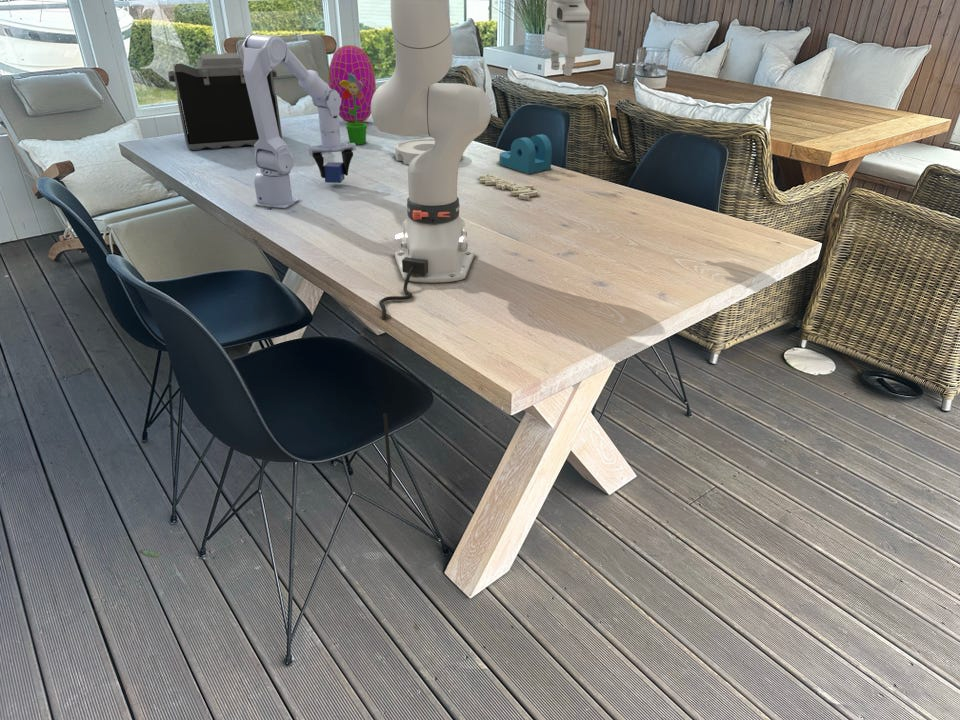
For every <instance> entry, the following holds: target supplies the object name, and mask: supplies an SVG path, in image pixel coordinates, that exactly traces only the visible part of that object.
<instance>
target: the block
mask: <svg viewBox="0 0 960 720" xmlns="http://www.w3.org/2000/svg"><path fill="white" fill-rule="evenodd" d="M324 171H325V178H324V183H329V184H330V183H331V184H341V183H342V182H343V181H344V180H345V176H346V175H345V174H344V165H343V161H342V162H340V161H339V162H338V161H337V162H336V161H328V162H326V163H324Z"/></svg>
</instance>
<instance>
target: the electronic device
mask: <svg viewBox="0 0 960 720" xmlns="http://www.w3.org/2000/svg"><path fill="white" fill-rule="evenodd" d="M195 64H196V68H195V67H192V66H190V65H187V64H185V63H174V64H173V65H172V68H173V69H172V70H170V71H168V75H167V78H168V81H169V82H170V83H172V82H173V83H174V84H175V89H176V97H177V101H176V102H177V107H178V110H179V115H180V121H181V126H182V130H183V136H184V141H185V144H186V147H187V149H188V150H191V151H200V150H203V149H204V148H210V149H212V150H217V149H221V148H223V147H229V148H240V147H243V146H245V145H246V146H247V145H250V146H251V147H254V145H255V143H256V142H257V141H258V140H259V136H258V132H257V128H256V123H255V119H254V115H253V111H252V107H251V102H250V98H249V94H248V90H247V86H246V81H245V77H244V73H243V66H244V58H241V57H240V55H239V54H238V52H225V53H220V54H219V53H217V54H214V53H212V52H211V53H201V54H200V58H199V59H198V60H196V61H195ZM277 77H278V75H277V70H275V68H274V69H273V70H272V71H271V72H269V74H268V76H267V81H268V86H269V90H270V95H271V99H272V104H273V108H274V113H275V117H276V122H277V126H278V131H279V136H280V138H281V139H282V140H283V133H282V126H281V118H280V110H279V103H278V96H277V94H276V90H275V83H274V78H277Z"/></svg>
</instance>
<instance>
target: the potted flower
mask: <svg viewBox="0 0 960 720" xmlns="http://www.w3.org/2000/svg"><path fill="white" fill-rule="evenodd" d="M348 78H349V81H346V80H342V81H341V82H340V83H339V84H340V85H341V86H342V87H343V88H346V89H347V90H345V91H344V93H343V94H342V97H341V99H348V98H350V97H351V96H352V95H353V100H354V110H349V111H348V112H349V114H351V115H355V123H349V122H348V123H347V124H346V125H345V128H346V131H347V136H348V141H349V142H348V143H355V144H356V145H363V144H366V143H367V129H368V124H367V123H366V122H365V123H364V122H361V123H357V116H356V110H358V109H359V106H356V103H355V95H356V97H357V98H358V99H359V100H362V98H363V93H362V92H361V91H360V90H361V89H363V84H362V82H361V81H358V82H357V83H356V78H355V76H354V75H352V74H350V73H348Z"/></svg>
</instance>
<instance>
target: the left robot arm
mask: <svg viewBox="0 0 960 720" xmlns="http://www.w3.org/2000/svg"><path fill="white" fill-rule="evenodd" d="M241 49H242V53H243V60H244V66H243V73H244V77H245V81H246V86H247V90H248V94H249V98H250V102H251V107H252V111H253V115H254V119H255V123H256V128H257V132H258V136H259V140H258V141H257V142H256V143H255V145H254V146H253V147H254V163H255V165H256V166H257V167H258V168H259V169H260V171H258V172H257V173H256V174H255V176H254V180H253V181H254V182H253V183H254V189H255V196H256V203H255V205H256V206H259V207H269V208H275V209H287V208H289V207H291V206H293V205H294V204H295V203H297V202H299V201H300V200H299V198H293V193H292V186H291V185H292V184H291V177H290V174H291V171H292V169H293V167H294V157H293V155H292V153H291V152H290V150H289V147H288V144H287V142H285V141H284V140H283V138H282V139H281V138H280V136H279V131H278V126H277V122H276V117H275V113H274V108H273V104H272V99H271V95H270V90H269V86H268V81H267V76H268V74H269V72H271V71H272V70H273V69H274V70H275V68H276V67H277V66H278V65H280V64H281V66H283V67H284V68H285V69H286V70H287V71H289V73H290V74H292V75H293V76H294V77H296V79H298V86H299V87H300V88H301V89H302V90H303V91H304V92H305V93H306V94H307V95H308V96H309V97H310V98H311V100H312V104H313V105H314V106H315V107H317V112H318V113H317V115H318V123H319V131H320V142H321V144H319V145H313V146H307V147H306V150H307V155H308V156H312V158H313V159H314V161H315V163H316V166H317V168H318V170H319V173H320V177H321V178H322V179H325V171H324V165H325V161H324V158H325V157H324V156H323V154H329V153H338V152H340V153H341V158H342V163H343V165H344V176H349V169H350V164H351V162H352V159H353V156H354V152H353V151H357V144H355V143H350V142H341V141H342V140H341V130H340V116H339V113H340V111H339V108H340V105H341V98H340V95H339V94H338V92H337V91H336V90H335V89H330V87H329V83H328V82H325V80H323V79H322V78H321V77H320V76H319V75H320V74H319V72H318V71H317V70H313V69H307V68H306V67H305V65H304V64H303V63H302V62H301V61H300V60H299V59H298V58H297V56H296V55H295V54H294V53H293V52H292V51H291V49H290V45H289V44H288V43H286V42H285V41H284V40H283V39H282V37H280V36H278V35H264V34H257V33H250V34H249V35H247V36H246V37H245V39H244V41H243V43H242V44H241Z"/></svg>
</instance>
